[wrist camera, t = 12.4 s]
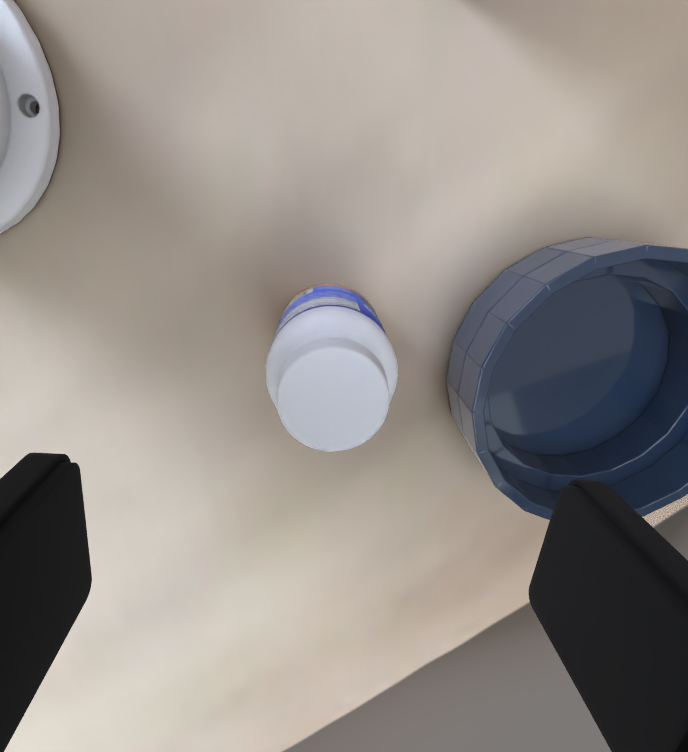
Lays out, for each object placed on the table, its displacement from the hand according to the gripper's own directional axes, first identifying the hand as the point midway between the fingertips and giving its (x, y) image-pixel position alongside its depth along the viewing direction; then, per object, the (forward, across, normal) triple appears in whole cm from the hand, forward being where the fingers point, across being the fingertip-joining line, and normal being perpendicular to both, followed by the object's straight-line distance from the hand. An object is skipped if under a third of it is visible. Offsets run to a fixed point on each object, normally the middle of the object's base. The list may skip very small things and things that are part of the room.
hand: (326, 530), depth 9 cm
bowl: (+17, -15, +2) cm, 22 cm away
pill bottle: (+17, -1, +1) cm, 17 cm away
